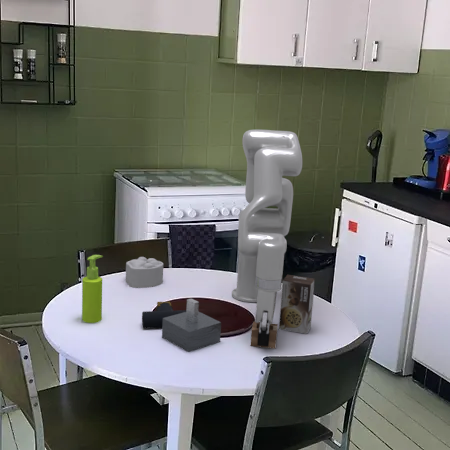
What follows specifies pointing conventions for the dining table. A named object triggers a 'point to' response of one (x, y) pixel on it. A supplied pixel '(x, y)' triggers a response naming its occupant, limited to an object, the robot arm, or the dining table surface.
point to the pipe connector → (158, 315)
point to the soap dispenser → (92, 293)
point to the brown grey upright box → (296, 303)
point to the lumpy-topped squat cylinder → (144, 273)
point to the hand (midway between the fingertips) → (263, 340)
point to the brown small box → (271, 336)
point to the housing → (191, 328)
